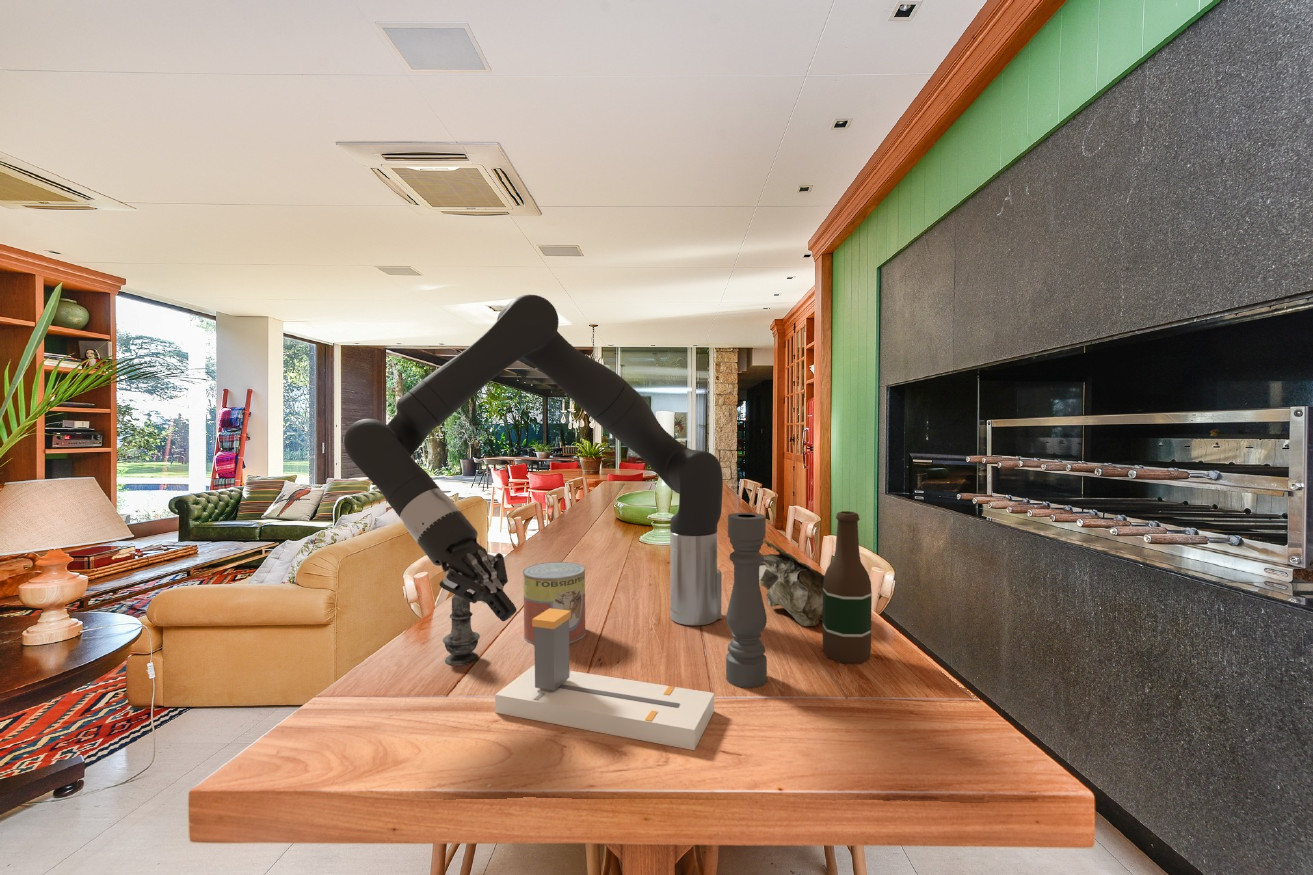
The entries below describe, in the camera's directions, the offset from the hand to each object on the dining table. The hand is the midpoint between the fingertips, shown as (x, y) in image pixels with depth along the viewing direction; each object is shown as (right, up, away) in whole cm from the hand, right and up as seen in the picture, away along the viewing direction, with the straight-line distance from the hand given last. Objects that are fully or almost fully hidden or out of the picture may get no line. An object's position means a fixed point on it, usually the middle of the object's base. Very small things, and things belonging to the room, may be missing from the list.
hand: (510, 616), depth 86 cm
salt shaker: (-11, -11, +13) cm, 21 cm away
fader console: (+14, -12, -4) cm, 19 cm away
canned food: (+2, -11, +24) cm, 27 cm away
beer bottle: (+53, -11, +14) cm, 56 cm away
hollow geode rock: (+50, -10, +40) cm, 65 cm away
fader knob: (+6, -9, -2) cm, 11 cm away
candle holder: (+35, -11, +6) cm, 37 cm away
